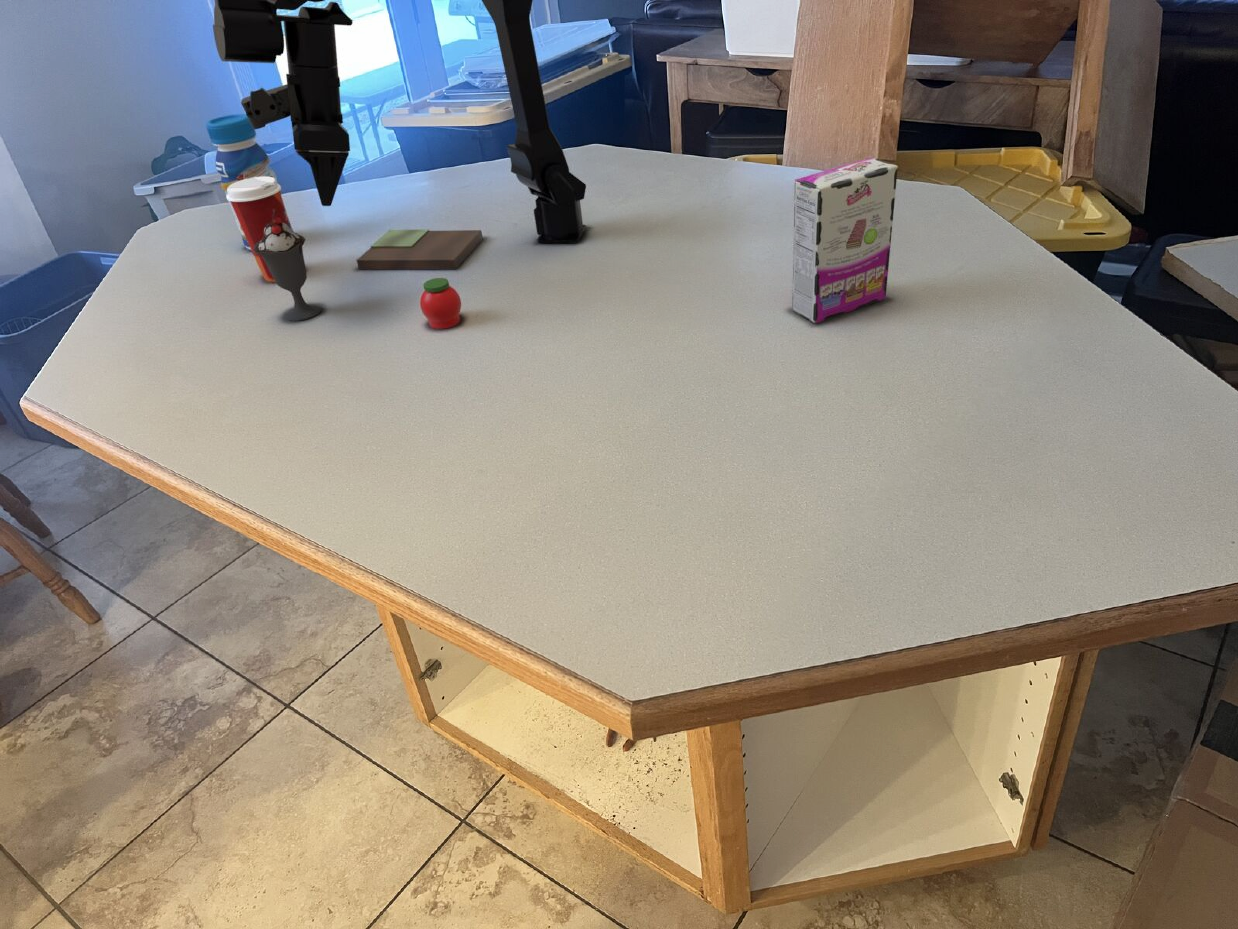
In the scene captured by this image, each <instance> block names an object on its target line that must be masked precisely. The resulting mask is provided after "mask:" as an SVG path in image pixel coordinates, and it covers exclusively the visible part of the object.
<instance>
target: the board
mask: <svg viewBox="0 0 1238 929" xmlns="http://www.w3.org/2000/svg"><path fill="white" fill-rule="evenodd" d="M483 239H484V238H483V231H482V230H481V229H472V230H471V229H469V230H466V229H465V230H463V229H462V230H459V229H458V230H456V229H455V230H454V229H453V230H430V229H388V230H387V231H386V232H385V233H384V234H383V235H382V236H381V237H379V238H378V239H377V240H376V241H375V242H373V243H372V244H371V245H370V248H368V249H367V250H366V251H365V252H364V253H363V254H362V255H361V256H359V257H358V258H357V259H356V264H357V267H358V270H457V269H458V268H459V267H460V265H461V264H462V263H463V262H464V261H465V260H466V259H467V258H468V256H470V254H471V253H472V252H473V251H474V250H475V249H476V248H477V246H478V245H479V244H480V243H481V242H482V241H483Z"/></svg>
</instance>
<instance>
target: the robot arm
mask: <svg viewBox="0 0 1238 929" xmlns="http://www.w3.org/2000/svg"><path fill="white" fill-rule="evenodd" d="M324 1H325V0H214V8H213V23H214V24H212V31H213V32H212V33H213V36H214V37H213V38H214V42H215V43H214V44H215V47H216V50H217V54H218V56H219V59H220V60H221V62H226V63H227V62H228V63H230V62H231V63H253V64H257V63H258V64H275V63H276V60H277V56H278V57H281V56H282V55H283V54H284V52H286V59H287V60H286V62H287V69H288V73H286V74H285V78H286V84H284V85H280V86H276V87H273V88H269V89H267V90H266V89H265V88H264V87H260V88H259V89H257V90H250V93H249V95H248V96H246V97H244V98H242V99H241V101H240V104H241V106H242V108H243V111H244V112H245V114H246V115H247V117H248V119H249V121H250V123H251V125H252V127H253V129H255V130H261V129H263V128H266V125H269V124H271V123H272V124H273V123H275V122H277V121H281V120H283V119H286V118H289V117H290V122H291V129H292V138H293V139H292V140H293V148H294V150H295V153H296V154H297V155H298V156H299V157H301V158H302V159H303V160H304V161H305V162H307V163H308V164H309V166H310V169H311V173H312V176H313V180H314V183H315V187H316V190H317V193H318V197H319V200H320V204H321V206H323V207H331V206H332V203H333V201H334V198H335V195H336V191H337V189H338V186H339V183H340V179H341V177H342V174H343V171H344V168H345V165H346V163H347V159H348V157H349V155H350V151H351V145H350V134H349V132H348V130H347V129H346V128H345V126H344V125H342V124H344V119H343V112H342V107H341V106H342V104H341V92H340V87H341V78H340V76H339V66H338V53H337V52H338V50H337V39H336V26H347V27H348V26H349V27H350V26H352V25H353V19H352V18H350V16H348V15H347V13H345V12H344V10H343V9H342V8H341V7H340V4H339V3H338V2H336V1H329V2H328V4H327V5H326V6H325V7H315V6H303V5H305V4H306V3H308V2H310V3H311V2H312V3H320V2H324ZM533 1H534V0H481V2H482V4H483V6H484V8H485V9H486V11H487V12H488V14H489V16H490V17H491V19H492V21H493V24H494V26H495V32H496V35H497V40H498V45H499V50H500V55H501V60H502V65H503V69H504V73H505V79H506V83H507V88H508V92H509V97H510V103H511V107H512V110H513V111H512V113H513V117H514V120H515V125H516V136H515V141H514V144H508V145H506V151H507V153H508V156H509V159H510V165H511V166H510V173H512V174H514V175H516V178H517V180H518V181H519V183H521V184H522V185H524V186H526V187H527V189H528V191H529V192H530V194H531V195H532V196H536V199H535V206H536V207H535V208H534V209H533V215H534V222H535V223H534V224H535V228H536V234H537V235H538V238H537V243H538V244H539V243H540V244H553V243H554V244H556V243H558V244H559V243H561V244H562V243H568V244H569V243H578V242H579V241H580V240H581V238H582V236H583V234H584V233H585V231H586V230H587V225H586V224H584V223H583V213H582V205H581V201H582V200H584V199H585V195H586V189H587V184H586V183H585V182H583V181H582V180H581V179H579V178H578V177H577V176H575V175H574V174H573V173H572V172H570V168H569V165H568V161H567V158H566V156H565V152H564V150H563V148H562V146H561V144H560V142H559V140H558V139H557V137H556V136H555V134H554V132H553V130H552V128H551V125H550V122H549V121H550V120H549V117H548V110H547V105H546V100H545V95H544V89H543V84H542V79H541V78H542V77H541V74H540V67H539V62H538V58H537V53H536V46H535V41H534V35H533V31H532V26H531V11H532V6H533ZM298 9H299V11H298V15H290V14H289V15H288V14H287V15H286V14H278V13H277V11H278V10H282V11H284V10H285V11H296V10H298ZM282 22H283V25H282ZM283 30H284V31H283ZM285 50H286V51H285Z"/></svg>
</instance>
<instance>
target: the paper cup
mask: <svg viewBox="0 0 1238 929" xmlns="http://www.w3.org/2000/svg"><path fill="white" fill-rule="evenodd" d="M281 190H282V186H281V185H280V184H279V183H278V180H277V181H276V180H275V179H274V178H273V177H267V176H264V177H254V178H249V179H244V180H241V181H238V182H235V183H233V184H231V185H230V186H228V188H227V193H228V195H227V196H226V200H227V201H228V200H229V201H230V202H231V204H232V206H233V209H234V211H235V213H236V216H237V218H238V220H239V223H240V225H241V227H242V229H243V232H244V234H245V236H246V239H247V241H248V243H249V246H250V248H251V250H250V251H251V253H252V254H253V257H254V259H255V261H256V264H257V266H258V268H259V271H260V273H261V275H262V277H263V279H264V280H265V281H266V282H269V283H276V281H275V280H274V278H273V276H272V274H271V272H270V270H269V268H268V266H267V264H266V262H265V261H264V259H263V257H262V256H261V255H259V254H255V253H254V250H253V249H254V246H255V244H257V243H258V242H260V241H261V240H262V239H263V237H264V229H265V227H266V225H267V223H271V222H272V213H273V209H275V210H276V213H275V214H274V213H273V214H274V217H275V218H280V219H281V222H283V223H285V224H286V225H287V226H288V227H289V228H290V225H289V222H288V218H289V217H288V218H287V215H288V213H287V214H286V212H287V210H286V211H285V209H286V206H285V203H284V204H283V202H284V200H282V199H283V196H282V193H281ZM284 206H285V207H284ZM274 217H273V219H274Z"/></svg>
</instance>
